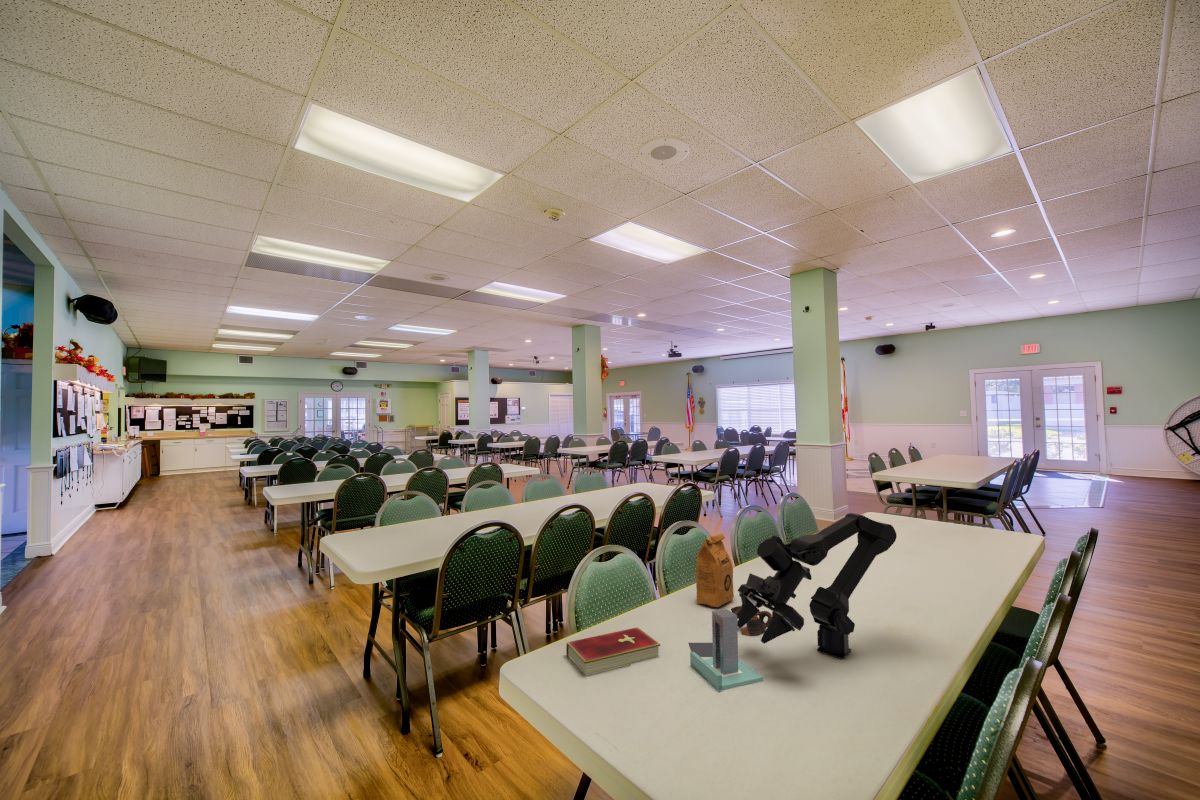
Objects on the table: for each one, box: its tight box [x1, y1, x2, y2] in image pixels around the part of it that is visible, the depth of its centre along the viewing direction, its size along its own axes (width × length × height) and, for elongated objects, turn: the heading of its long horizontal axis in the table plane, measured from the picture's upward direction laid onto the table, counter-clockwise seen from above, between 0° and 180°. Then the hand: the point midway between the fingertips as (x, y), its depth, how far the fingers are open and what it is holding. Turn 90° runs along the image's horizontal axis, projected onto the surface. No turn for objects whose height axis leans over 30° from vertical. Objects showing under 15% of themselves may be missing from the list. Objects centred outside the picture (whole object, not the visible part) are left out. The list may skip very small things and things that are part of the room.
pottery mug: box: [730, 605, 772, 637], centre depth 141 cm, size 12×10×8 cm
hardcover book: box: [565, 626, 661, 677], centre depth 126 cm, size 12×21×4 cm, turn 115°
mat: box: [687, 642, 713, 658], centre depth 128 cm, size 8×8×1 cm
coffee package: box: [695, 533, 735, 608], centre depth 163 cm, size 10×12×22 cm
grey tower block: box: [711, 608, 739, 675], centre depth 117 cm, size 4×4×13 cm
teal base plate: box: [689, 652, 764, 693], centre depth 116 cm, size 12×12×4 cm
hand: (750, 634), depth 119 cm, fingers open, 9 cm apart
